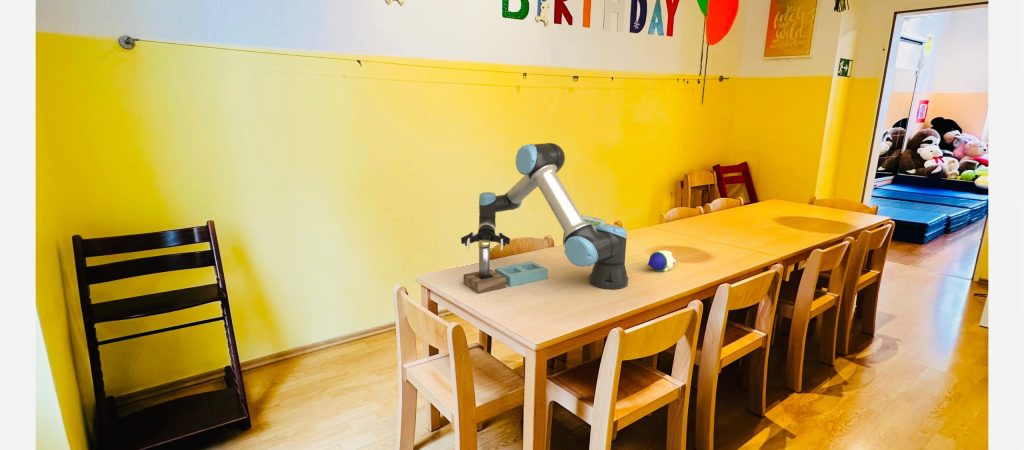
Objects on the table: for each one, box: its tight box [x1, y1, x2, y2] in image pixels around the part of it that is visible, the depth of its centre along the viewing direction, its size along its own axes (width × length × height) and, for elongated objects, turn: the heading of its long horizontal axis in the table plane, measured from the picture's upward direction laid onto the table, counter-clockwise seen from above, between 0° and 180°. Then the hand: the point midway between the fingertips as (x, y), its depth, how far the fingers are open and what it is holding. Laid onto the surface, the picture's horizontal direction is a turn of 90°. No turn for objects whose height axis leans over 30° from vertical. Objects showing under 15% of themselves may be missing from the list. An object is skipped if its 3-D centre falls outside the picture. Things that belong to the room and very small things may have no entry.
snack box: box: [563, 214, 607, 244], centre depth 246 cm, size 21×6×15 cm, turn 47°
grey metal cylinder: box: [478, 240, 491, 280], centre depth 191 cm, size 4×4×18 cm
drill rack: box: [494, 261, 549, 288], centre depth 202 cm, size 12×18×4 cm, turn 122°
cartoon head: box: [647, 249, 678, 273], centre depth 212 cm, size 9×10×20 cm
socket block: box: [463, 268, 507, 295], centre depth 193 cm, size 12×12×4 cm
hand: (484, 246), depth 200 cm, fingers open, 13 cm apart
